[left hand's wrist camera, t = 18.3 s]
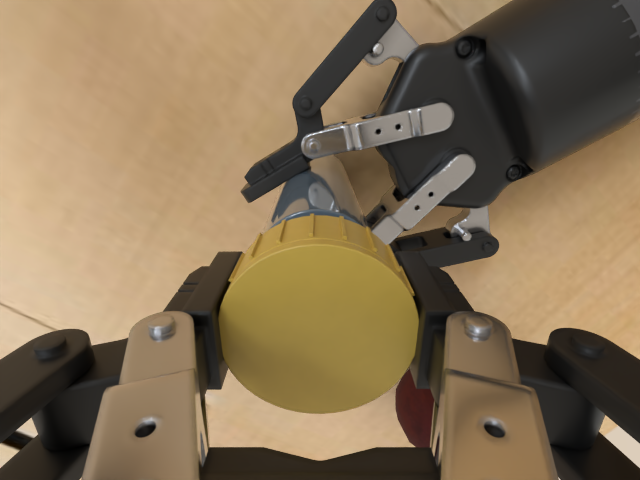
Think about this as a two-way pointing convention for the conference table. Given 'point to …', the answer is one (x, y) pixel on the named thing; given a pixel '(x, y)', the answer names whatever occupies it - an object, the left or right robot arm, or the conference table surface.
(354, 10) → the conference table surface
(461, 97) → the right robot arm
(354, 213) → the grey tall cylinder
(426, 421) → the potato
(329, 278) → the lid
